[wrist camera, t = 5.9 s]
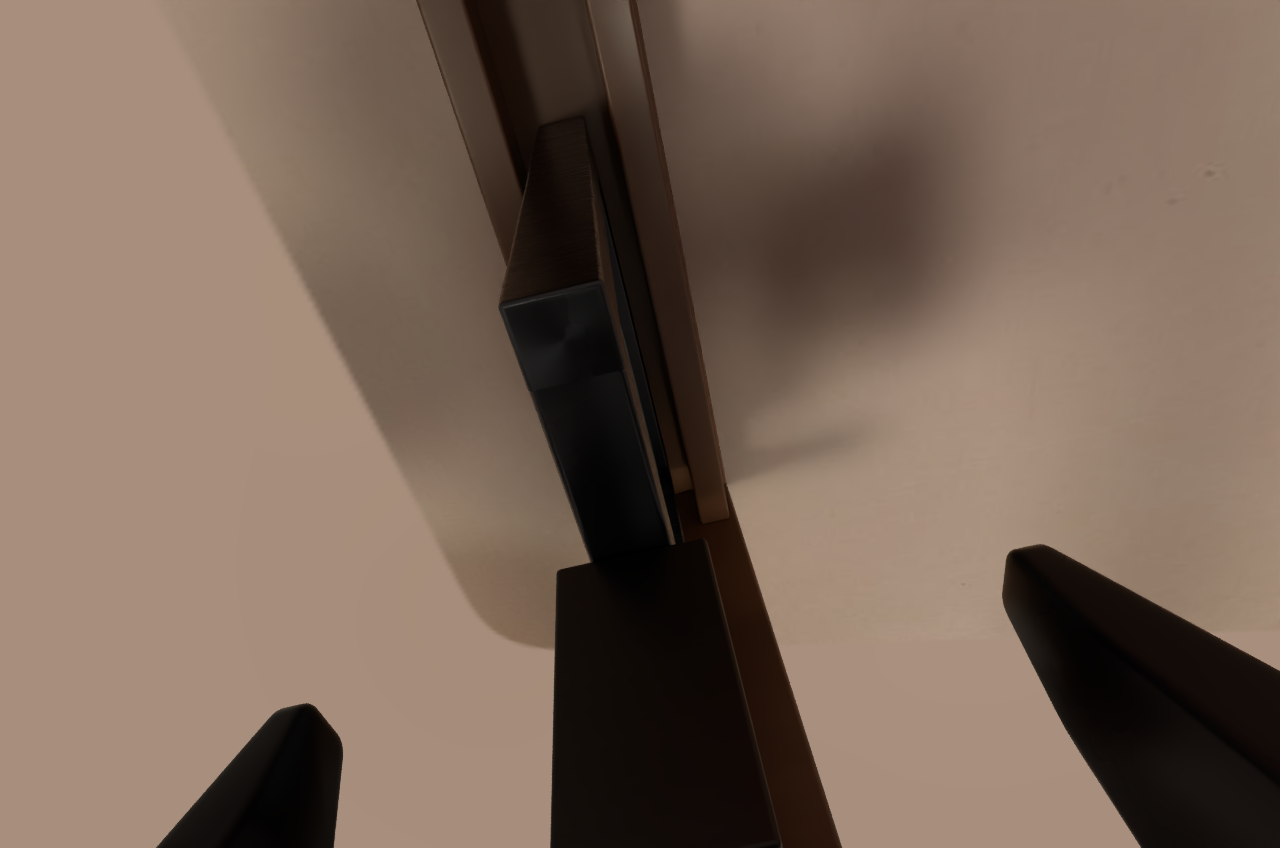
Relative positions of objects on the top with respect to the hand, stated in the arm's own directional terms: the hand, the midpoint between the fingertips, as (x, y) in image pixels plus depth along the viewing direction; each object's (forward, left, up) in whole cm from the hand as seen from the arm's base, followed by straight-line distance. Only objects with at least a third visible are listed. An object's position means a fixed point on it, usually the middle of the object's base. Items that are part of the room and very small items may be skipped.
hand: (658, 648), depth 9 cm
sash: (0, 0, -10) cm, 10 cm away
